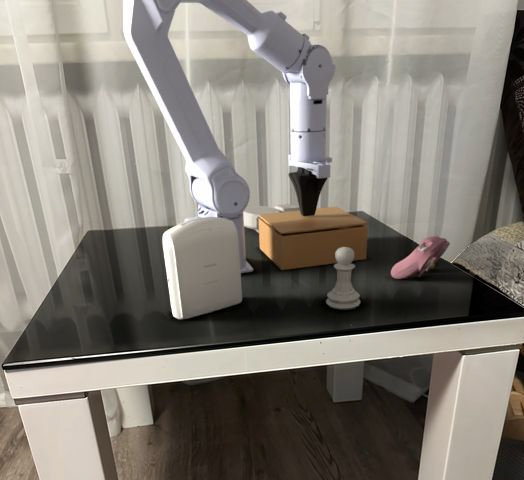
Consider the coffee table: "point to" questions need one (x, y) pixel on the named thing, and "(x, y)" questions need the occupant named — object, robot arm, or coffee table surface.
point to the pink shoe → (421, 258)
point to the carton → (312, 240)
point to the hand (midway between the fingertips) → (307, 215)
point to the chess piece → (343, 282)
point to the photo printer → (202, 266)
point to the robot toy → (254, 211)
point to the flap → (297, 215)
